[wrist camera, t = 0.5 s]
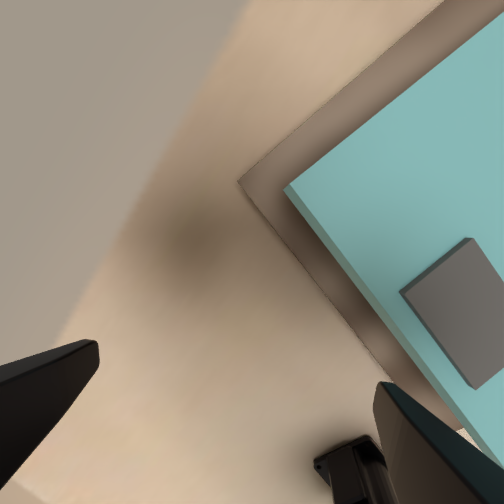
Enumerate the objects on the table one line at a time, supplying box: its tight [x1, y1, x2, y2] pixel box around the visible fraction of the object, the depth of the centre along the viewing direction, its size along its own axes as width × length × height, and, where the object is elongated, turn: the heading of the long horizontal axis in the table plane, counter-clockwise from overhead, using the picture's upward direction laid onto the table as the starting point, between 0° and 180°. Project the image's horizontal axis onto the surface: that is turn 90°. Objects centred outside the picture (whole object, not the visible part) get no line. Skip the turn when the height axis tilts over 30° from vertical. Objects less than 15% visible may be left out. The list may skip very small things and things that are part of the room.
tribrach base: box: [237, 0, 504, 431], centre depth 16 cm, size 25×20×4 cm
